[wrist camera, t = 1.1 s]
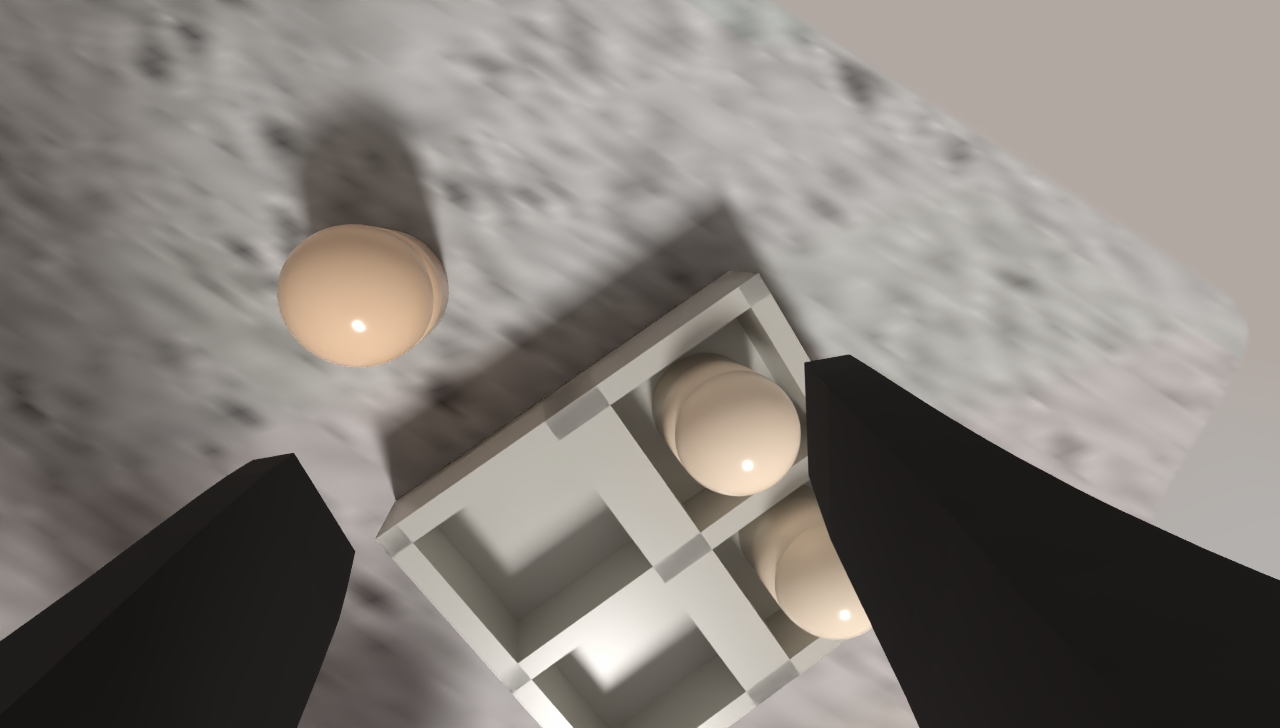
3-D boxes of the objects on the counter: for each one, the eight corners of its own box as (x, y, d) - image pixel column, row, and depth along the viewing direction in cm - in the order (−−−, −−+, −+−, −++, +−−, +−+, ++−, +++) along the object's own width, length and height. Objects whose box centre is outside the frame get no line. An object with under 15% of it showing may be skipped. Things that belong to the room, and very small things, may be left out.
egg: (376, 370, 21) (324, 410, 16) (297, 273, 20) (212, 280, 15) (472, 304, 21) (455, 322, 16) (398, 205, 20) (353, 188, 15)
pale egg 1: (688, 476, 23) (737, 543, 18) (631, 393, 22) (665, 438, 17) (772, 416, 23) (847, 464, 18) (719, 331, 22) (781, 356, 17)
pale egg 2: (770, 595, 25) (838, 690, 19) (720, 522, 24) (777, 601, 18) (848, 537, 25) (938, 615, 20) (802, 463, 24) (883, 524, 19)
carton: (605, 746, 25) (615, 810, 22) (395, 501, 22) (375, 539, 19) (890, 538, 26) (935, 573, 23) (729, 270, 23) (758, 272, 20)
